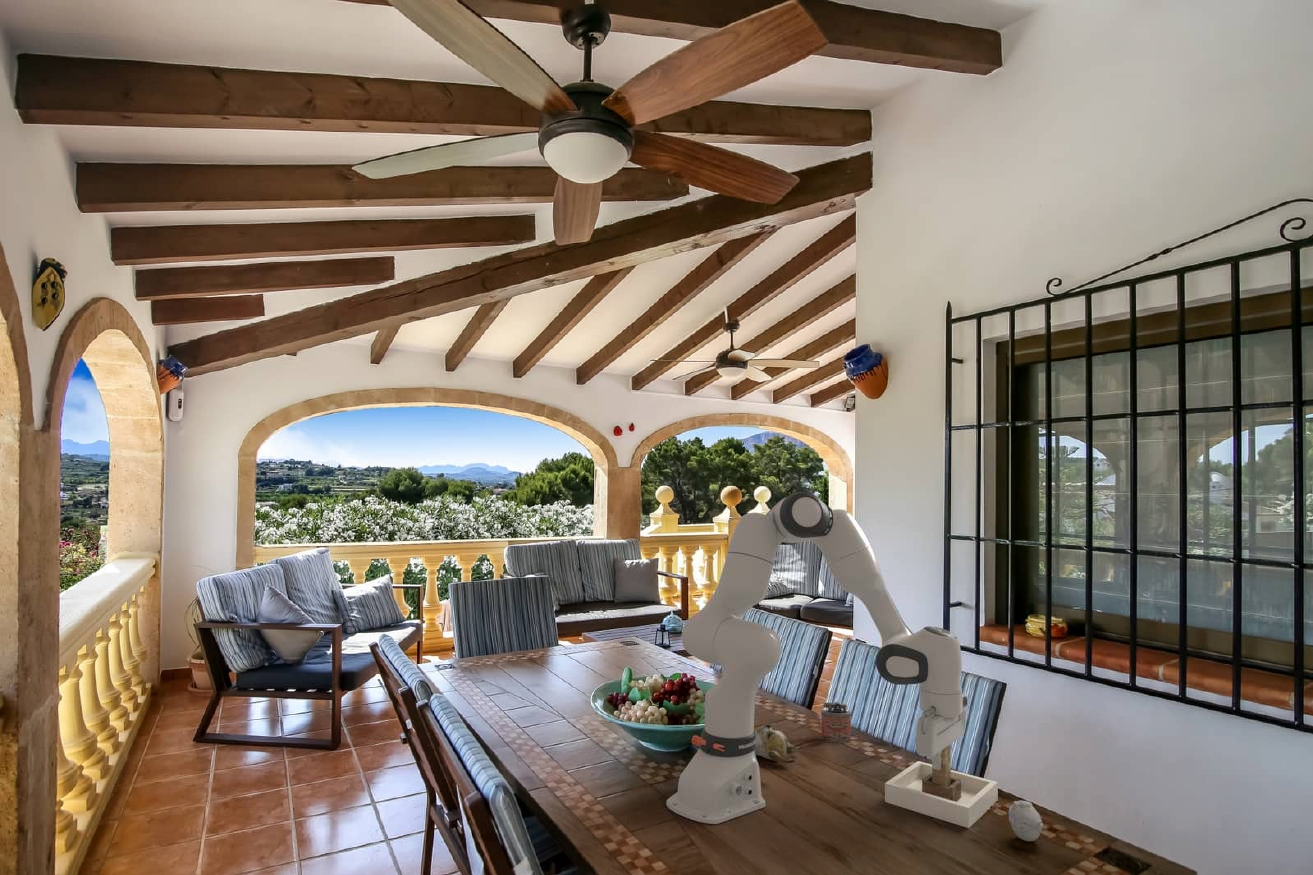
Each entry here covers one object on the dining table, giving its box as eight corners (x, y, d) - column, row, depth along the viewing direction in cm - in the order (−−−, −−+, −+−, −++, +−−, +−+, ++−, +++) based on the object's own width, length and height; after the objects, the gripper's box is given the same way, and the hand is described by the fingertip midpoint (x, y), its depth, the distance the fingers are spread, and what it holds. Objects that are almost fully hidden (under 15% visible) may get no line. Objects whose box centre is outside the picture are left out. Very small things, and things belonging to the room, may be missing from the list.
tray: (968, 828, 152) (968, 805, 152) (885, 801, 164) (884, 780, 164) (997, 800, 165) (997, 779, 166) (918, 778, 177) (918, 758, 178)
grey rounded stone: (1031, 830, 151) (1030, 795, 152) (1050, 848, 144) (1050, 811, 145) (1001, 831, 151) (1001, 795, 151) (1019, 848, 144) (1019, 811, 144)
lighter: (850, 738, 204) (850, 701, 205) (852, 742, 201) (852, 705, 201) (820, 737, 205) (820, 700, 205) (821, 741, 202) (821, 703, 202)
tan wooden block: (945, 788, 163) (945, 742, 164) (932, 784, 165) (931, 738, 166) (950, 784, 165) (950, 738, 166) (937, 780, 167) (936, 735, 168)
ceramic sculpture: (748, 713, 197) (805, 724, 191) (746, 746, 197) (802, 758, 191) (736, 725, 187) (796, 738, 181) (734, 760, 187) (793, 774, 181)
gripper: (937, 716, 156) (937, 784, 156) (970, 695, 172) (971, 756, 171) (907, 709, 160) (908, 775, 160) (943, 690, 176) (943, 749, 175)
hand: (941, 765), depth 165 cm, fingers closed on tan wooden block, 3 cm apart
